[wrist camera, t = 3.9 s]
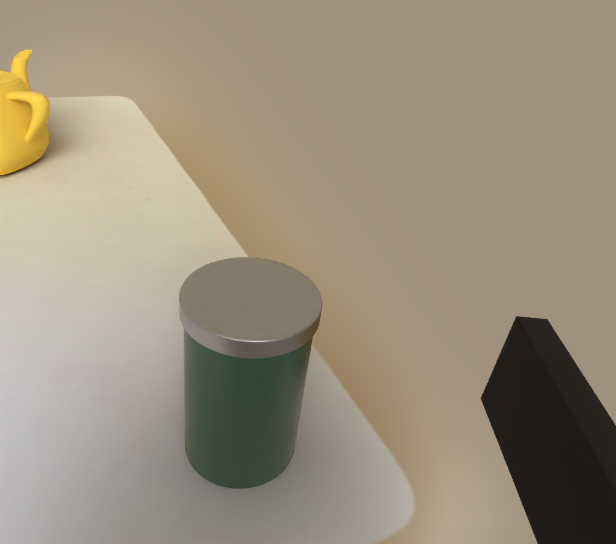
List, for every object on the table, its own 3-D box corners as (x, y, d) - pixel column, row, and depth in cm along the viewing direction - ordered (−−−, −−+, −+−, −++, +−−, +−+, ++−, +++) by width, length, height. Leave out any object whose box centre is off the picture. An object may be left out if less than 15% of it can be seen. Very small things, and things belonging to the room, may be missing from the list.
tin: (320, 457, 29) (351, 313, 23) (215, 514, 25) (222, 360, 20) (259, 383, 33) (273, 246, 27) (161, 423, 29) (155, 275, 24)
